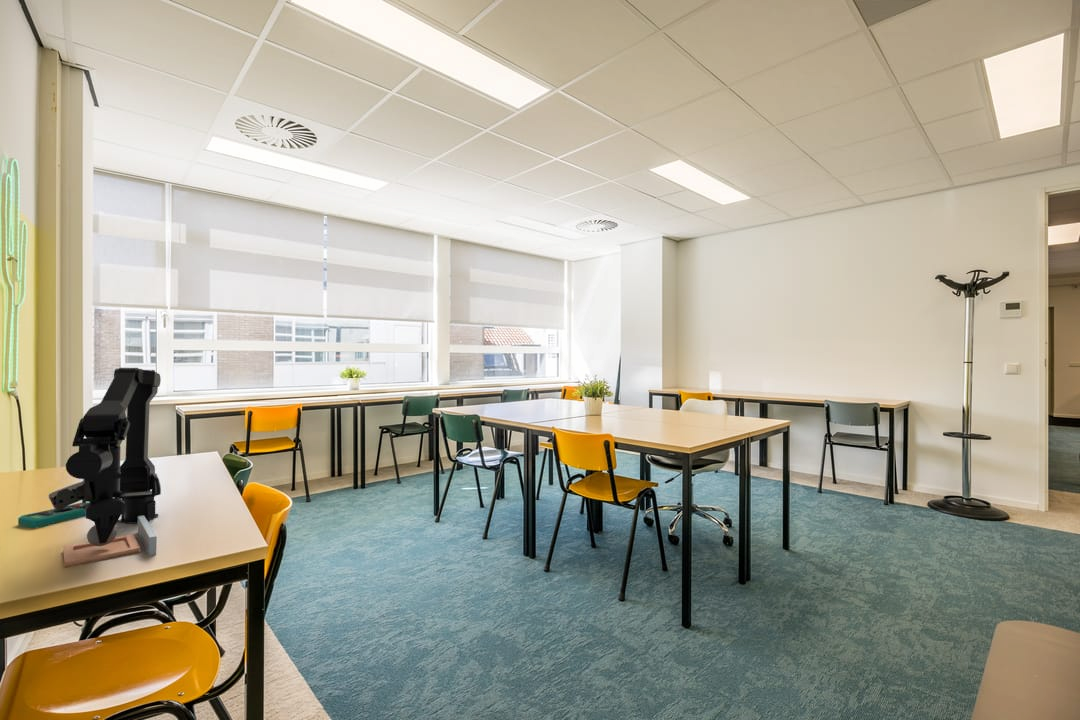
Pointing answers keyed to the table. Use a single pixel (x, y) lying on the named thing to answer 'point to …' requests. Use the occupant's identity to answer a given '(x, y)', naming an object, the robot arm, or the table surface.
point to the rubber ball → (93, 537)
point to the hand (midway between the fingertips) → (102, 539)
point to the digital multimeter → (52, 516)
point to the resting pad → (100, 550)
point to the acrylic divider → (147, 535)
